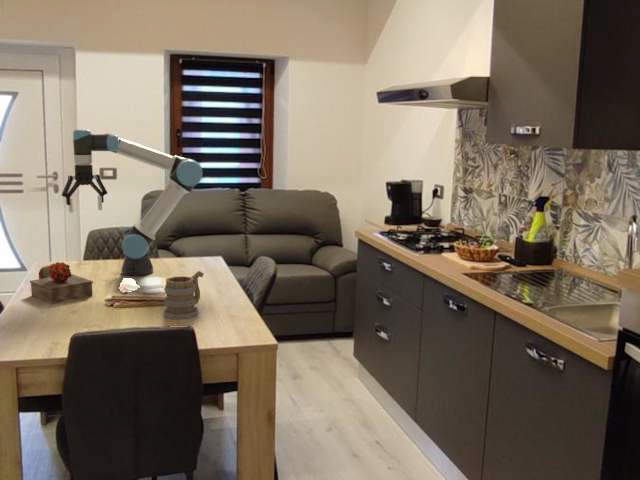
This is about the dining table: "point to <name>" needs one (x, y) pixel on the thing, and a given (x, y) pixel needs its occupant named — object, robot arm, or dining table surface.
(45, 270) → the tin
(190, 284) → the tankard
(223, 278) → the dining table surface
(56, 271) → the dragon fruit
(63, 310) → the dining table surface
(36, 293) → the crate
